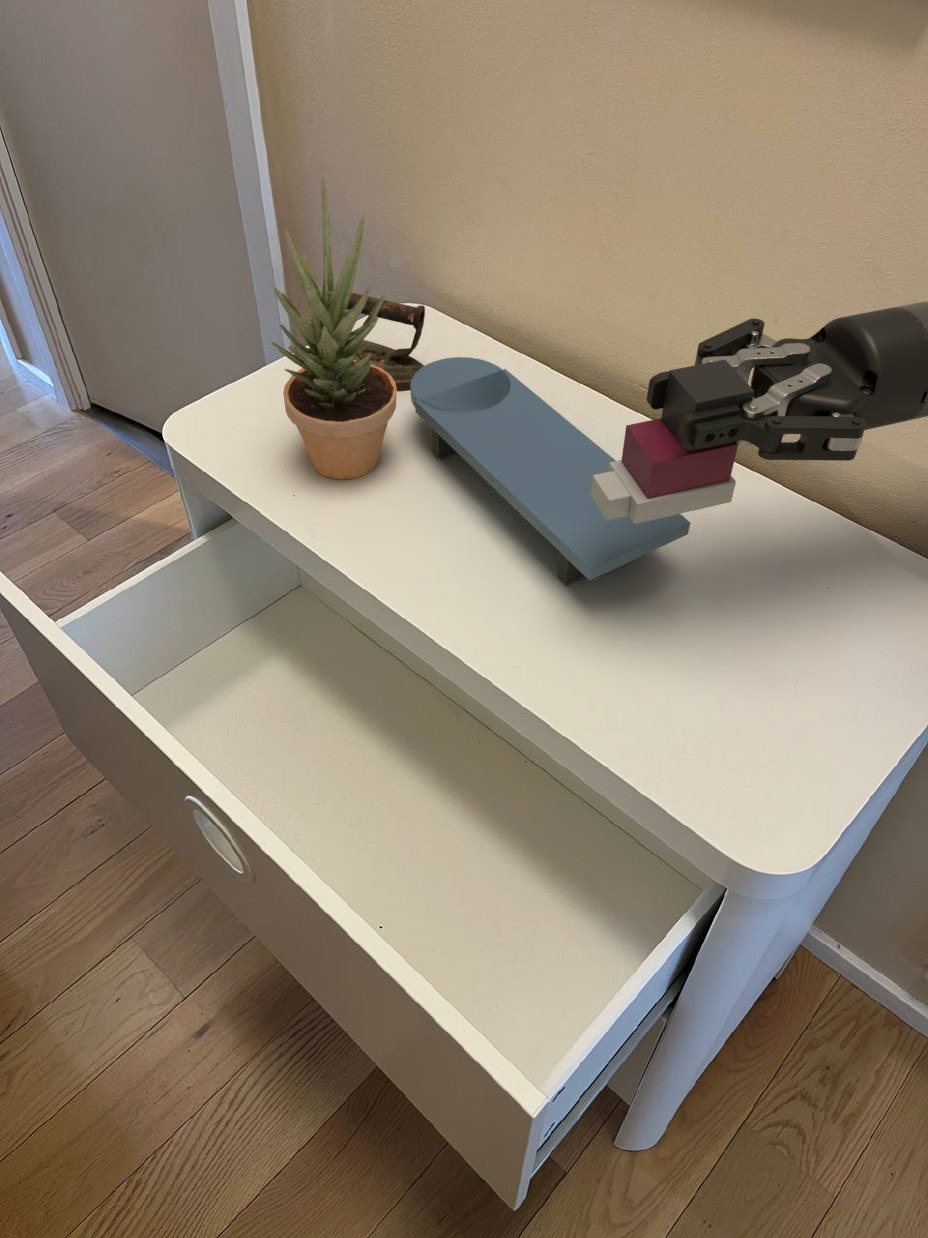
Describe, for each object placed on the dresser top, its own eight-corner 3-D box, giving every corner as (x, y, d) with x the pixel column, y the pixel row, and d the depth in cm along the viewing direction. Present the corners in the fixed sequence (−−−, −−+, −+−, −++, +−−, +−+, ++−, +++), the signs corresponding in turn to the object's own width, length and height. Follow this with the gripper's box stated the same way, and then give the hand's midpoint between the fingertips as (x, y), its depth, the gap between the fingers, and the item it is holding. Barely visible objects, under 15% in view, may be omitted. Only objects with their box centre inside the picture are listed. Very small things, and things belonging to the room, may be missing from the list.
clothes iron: (338, 349, 100) (355, 259, 93) (438, 391, 99) (463, 303, 92) (310, 379, 95) (326, 286, 88) (416, 423, 94) (440, 333, 87)
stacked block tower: (700, 462, 68) (722, 355, 62) (731, 502, 65) (758, 394, 59) (585, 487, 67) (596, 380, 60) (612, 529, 64) (626, 421, 57)
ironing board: (680, 570, 77) (690, 522, 73) (584, 616, 73) (591, 569, 69) (477, 391, 94) (478, 345, 90) (392, 422, 90) (389, 376, 86)
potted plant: (418, 472, 85) (406, 190, 67) (318, 505, 82) (277, 219, 64) (371, 413, 91) (348, 140, 73) (276, 442, 88) (228, 164, 70)
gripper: (854, 262, 66) (625, 303, 63) (991, 372, 57) (731, 427, 54) (825, 358, 72) (613, 401, 68) (946, 472, 63) (707, 528, 59)
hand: (666, 412), depth 61 cm, fingers closed on stacked block tower, 4 cm apart
